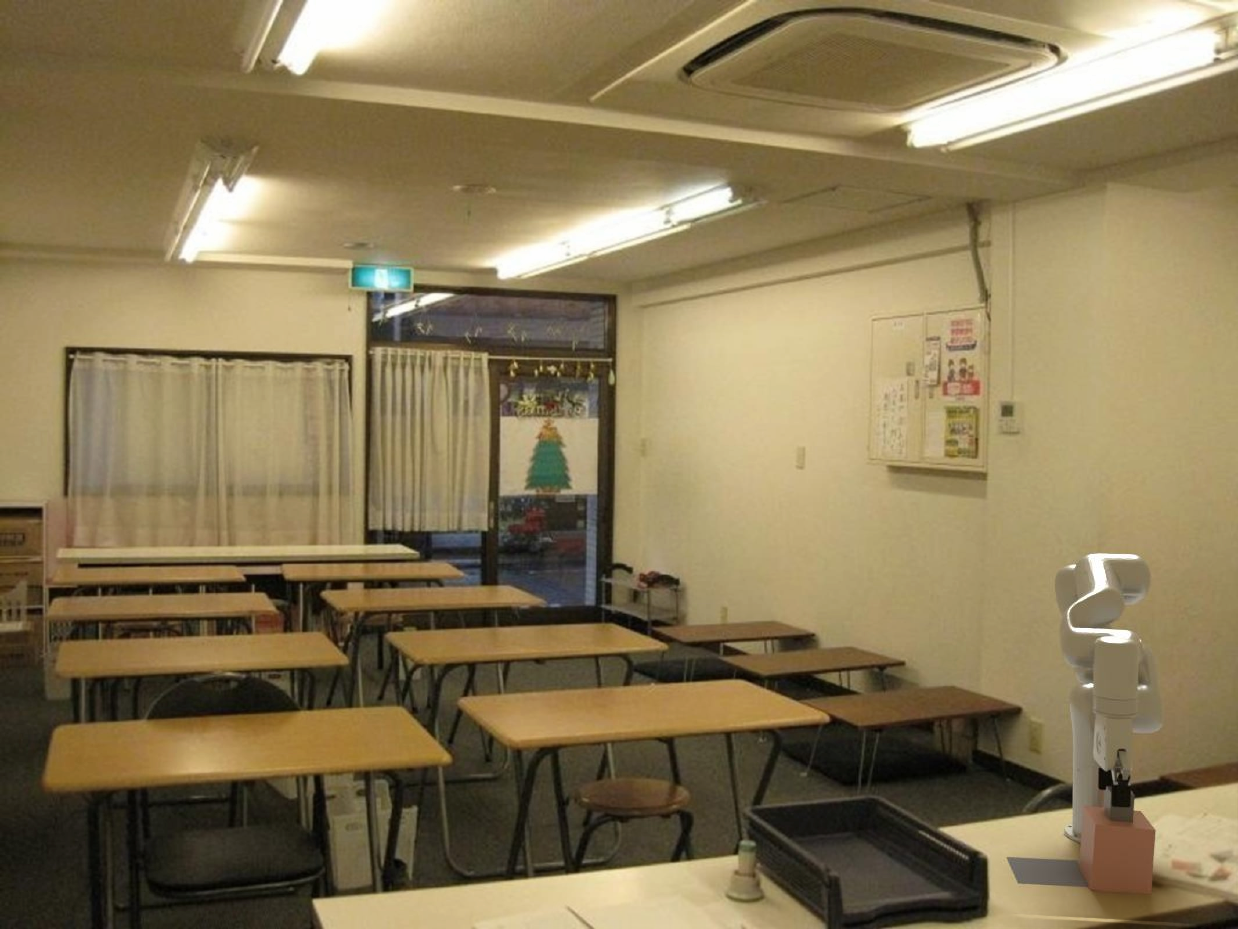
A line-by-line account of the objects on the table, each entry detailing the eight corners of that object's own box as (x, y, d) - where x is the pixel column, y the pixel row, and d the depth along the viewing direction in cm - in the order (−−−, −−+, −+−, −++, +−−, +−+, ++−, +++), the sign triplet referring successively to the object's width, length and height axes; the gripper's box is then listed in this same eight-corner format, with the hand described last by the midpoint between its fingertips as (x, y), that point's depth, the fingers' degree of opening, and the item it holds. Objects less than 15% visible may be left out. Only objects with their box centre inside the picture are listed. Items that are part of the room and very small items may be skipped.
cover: (1078, 868, 228) (1085, 779, 227) (1136, 874, 226) (1142, 784, 225) (1090, 890, 218) (1097, 796, 217) (1150, 896, 216) (1157, 802, 215)
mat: (1006, 859, 234) (1006, 857, 234) (1077, 863, 232) (1077, 860, 232) (1018, 885, 221) (1018, 883, 221) (1092, 889, 219) (1092, 887, 219)
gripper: (1082, 693, 231) (1081, 782, 232) (1105, 716, 214) (1103, 812, 214) (1124, 695, 230) (1123, 784, 230) (1150, 718, 213) (1148, 814, 213)
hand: (1113, 798), depth 222 cm, fingers open, 9 cm apart
